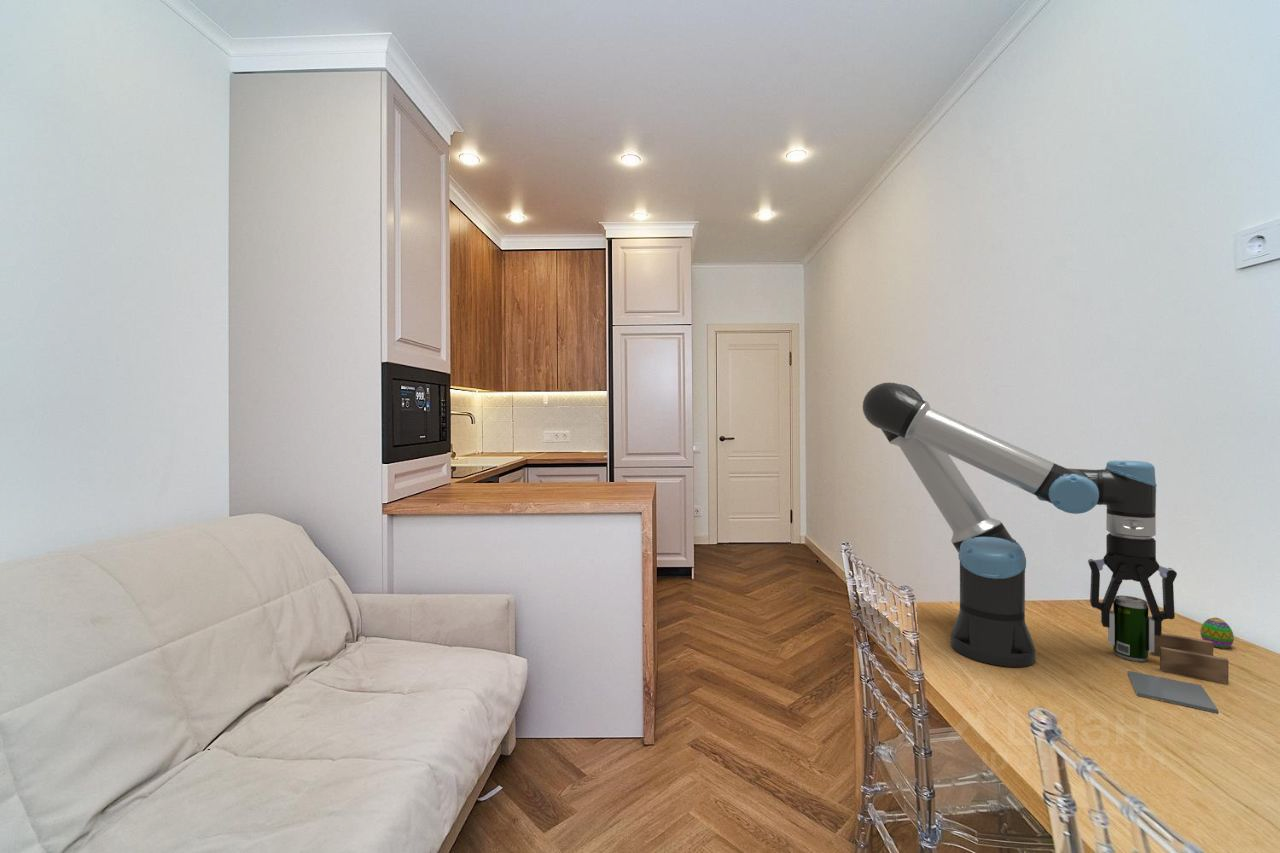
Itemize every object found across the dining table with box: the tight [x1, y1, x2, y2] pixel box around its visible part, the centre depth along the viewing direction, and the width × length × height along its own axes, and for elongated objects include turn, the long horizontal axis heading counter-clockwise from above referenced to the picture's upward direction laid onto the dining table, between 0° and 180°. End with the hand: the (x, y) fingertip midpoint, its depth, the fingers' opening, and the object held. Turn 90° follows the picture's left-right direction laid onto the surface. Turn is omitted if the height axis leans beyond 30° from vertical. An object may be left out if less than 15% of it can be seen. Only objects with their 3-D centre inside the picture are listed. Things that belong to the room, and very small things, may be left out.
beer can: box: [1112, 595, 1149, 663], centre depth 110 cm, size 5×5×12 cm
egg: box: [1200, 617, 1235, 649], centre depth 115 cm, size 5×5×6 cm
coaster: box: [1127, 670, 1219, 714], centre depth 95 cm, size 10×10×1 cm
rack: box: [1149, 632, 1230, 685], centre depth 105 cm, size 9×10×4 cm
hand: (1130, 645), depth 109 cm, fingers closed on beer can, 5 cm apart
